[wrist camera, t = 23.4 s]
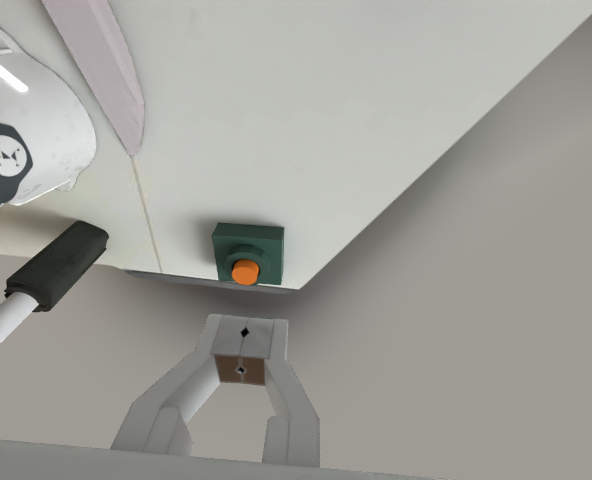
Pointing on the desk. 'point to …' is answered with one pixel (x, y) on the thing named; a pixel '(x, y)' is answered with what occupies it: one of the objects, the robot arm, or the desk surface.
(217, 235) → the base unit
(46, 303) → the black and white post
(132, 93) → the knife
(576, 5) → the desk surface
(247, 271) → the power button
